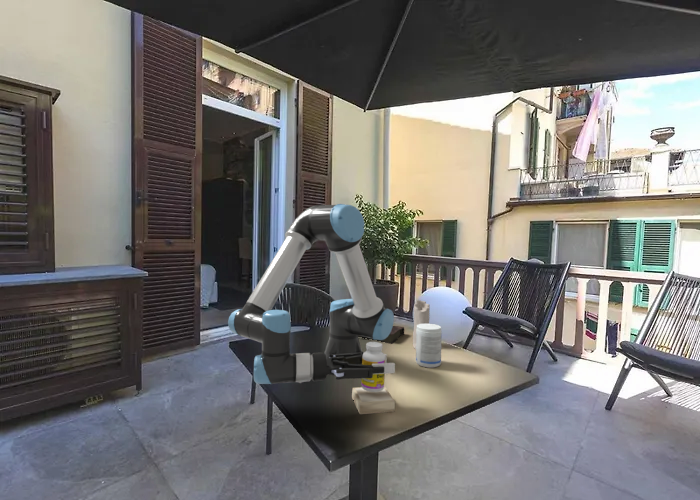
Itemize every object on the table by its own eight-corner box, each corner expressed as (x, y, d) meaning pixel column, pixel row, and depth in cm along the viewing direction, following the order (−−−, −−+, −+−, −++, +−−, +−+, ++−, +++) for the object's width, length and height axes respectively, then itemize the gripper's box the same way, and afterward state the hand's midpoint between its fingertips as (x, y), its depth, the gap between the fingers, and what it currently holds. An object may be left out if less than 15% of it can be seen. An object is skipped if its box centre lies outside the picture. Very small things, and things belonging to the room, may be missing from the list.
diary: (359, 328, 186) (359, 319, 186) (404, 336, 175) (404, 326, 174) (342, 337, 169) (342, 326, 169) (391, 345, 158) (391, 334, 158)
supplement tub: (446, 365, 134) (447, 327, 133) (428, 370, 128) (429, 330, 128) (427, 357, 142) (428, 322, 141) (410, 362, 136) (411, 324, 136)
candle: (414, 351, 149) (415, 304, 148) (412, 341, 163) (413, 299, 162) (431, 352, 148) (433, 305, 148) (428, 342, 162) (429, 299, 161)
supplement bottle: (377, 395, 97) (379, 349, 96) (357, 389, 100) (358, 344, 100) (388, 386, 102) (389, 343, 102) (368, 381, 106) (369, 339, 105)
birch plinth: (352, 397, 105) (352, 387, 105) (383, 395, 107) (384, 385, 107) (359, 414, 96) (360, 403, 95) (394, 411, 98) (394, 400, 97)
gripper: (307, 367, 107) (380, 363, 112) (314, 396, 88) (401, 390, 92) (308, 343, 107) (380, 340, 111) (315, 366, 87) (402, 362, 92)
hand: (390, 363), depth 102 cm, fingers closed on supplement bottle, 7 cm apart
